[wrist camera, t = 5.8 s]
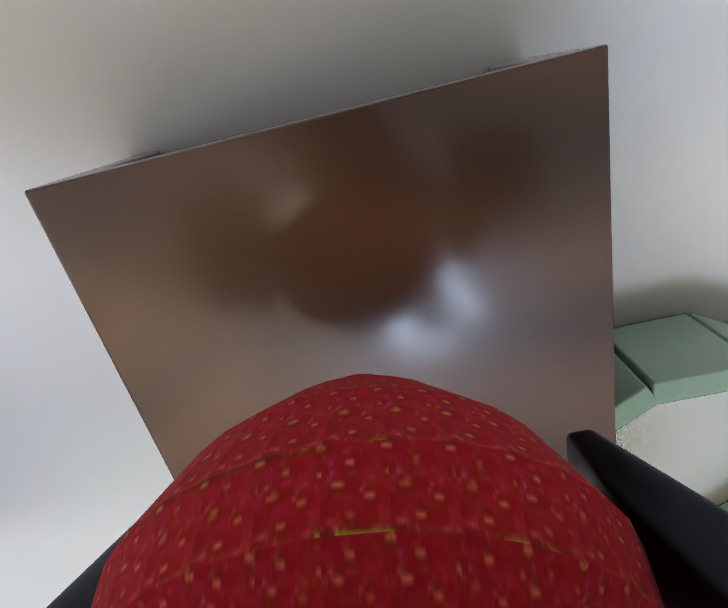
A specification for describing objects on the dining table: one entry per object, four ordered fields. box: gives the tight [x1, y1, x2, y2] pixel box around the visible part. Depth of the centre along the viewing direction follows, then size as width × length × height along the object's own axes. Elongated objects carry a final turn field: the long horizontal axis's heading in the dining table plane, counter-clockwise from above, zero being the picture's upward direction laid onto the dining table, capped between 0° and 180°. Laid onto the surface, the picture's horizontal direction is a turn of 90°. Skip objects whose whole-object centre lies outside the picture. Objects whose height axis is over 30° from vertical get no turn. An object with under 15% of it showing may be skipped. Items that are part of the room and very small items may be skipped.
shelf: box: [25, 45, 616, 480], centre depth 16 cm, size 12×14×6 cm
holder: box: [613, 314, 728, 511], centre depth 21 cm, size 14×14×4 cm
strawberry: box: [91, 374, 665, 608], centre depth 7 cm, size 6×8×10 cm
